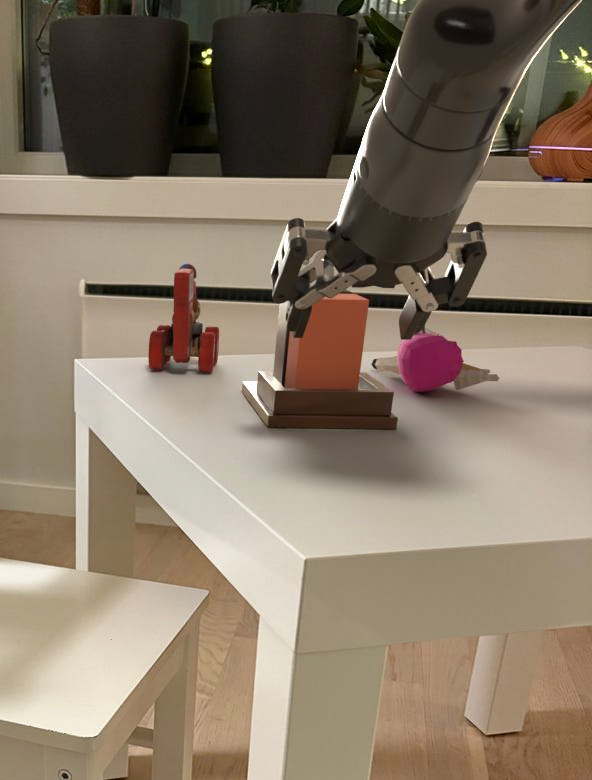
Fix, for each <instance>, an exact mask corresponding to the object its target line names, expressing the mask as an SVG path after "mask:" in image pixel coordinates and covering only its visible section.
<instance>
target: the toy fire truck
mask: <svg viewBox="0 0 592 780" xmlns="http://www.w3.org/2000/svg"><path fill="white" fill-rule="evenodd" d="M173 275H174V276H173V314H172V317H171V322H172V323H171V324H170V325H169V324H159V325H157V328H156V330H152V331H151V332H150V334H149V340H148V353H147V354H148V357H147V359H148V367H149V369H150V370H151V371H163V370H164V368H165V365H166V363H169V362H170V361H171V358H172V359H173V360H174V363H176V364H181V363H182V364H185V363H189V362H190V359H191V357H193V358H198V359H197V369H198V372H200V373H212V372H213V371H214V366H215V365H217V364H218V358H219V347H220V327H219V326H215V325H214V326H213V325H207V326H206V327H205V329H204V325H203V322H200V321H197V320H198V319H199V317H200V315H201V310H202V309H201V304H200V302H199V300H198V298H197V282H196V281H195V279H197V269H196V268H195V266H194V265H193V264H191V263H184V264H182V265H181V266H180V267H179V269H177V271H175V272H174V273H173ZM203 329H204V331H203Z"/></svg>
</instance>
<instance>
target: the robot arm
mask: <svg viewBox="0 0 592 780" xmlns="http://www.w3.org/2000/svg"><path fill="white" fill-rule="evenodd" d="M582 1H583V0H418V1H417V3H416V4H415V5H414V8H413V9H412V11H411V13H410V15H409V17H408V19H407V21H406V24H405V27H404V30H403V32H402V35H401V39H400V41H399V43H398V47H397V50H396V53H395V55H394V58H393V61H392V64H391V67H390V71H389V74H388V76H387V80H386V82H385V85H384V89H383V91H382V94H381V96H380V98H379V100H378V102H377V103H376V105H375V108H374V109H373V111H372V113H371V116H370V118H369V121H368V123H367V126H366V129H365V132H364V135H363V137H362V141H361V144H360V146H359V149H358V152H357V155H356V159H355V162H354V165H353V168H352V171H351V173H350V177H349V180H348V183H347V186H346V188H345V192H344V194H343V198H342V201H341V204H340V208H339V211H338V215H337V217H336V218H335V220H334V221H333V222H332V223H330V225H329V226H328V227H327V228H326V229H319V228H306V221H305V220H304V219H303V218H300V217H295V218H292V219H290V220H289V221H288V222H287V225H286V227H285V230H284V232H283V235H282V238H281V241H280V244H279V247H278V250H277V253H276V254H275V255H276V256H275V258H274V261H273V264H272V266H271V270H270V278H271V286H272V288H271V289H272V292H271V297H272V301H273V303H275V304H281V303H285V302H286V301H289V302H288V305H287V309H286V312H285V313H286V327H287V330H288V331H292V335H293V338H303V335H304V332H305V329H306V326H307V323H308V320H309V317H310V314H311V311H312V305H313V304H315V303H316V302H318V301H319V300H321V299H322V298H324V297H327V298H329V299H331V298H333V297H335V296H336V295H338V294H339V293H341V292H342V291H344V290H345V289H346V290H348V288H350V287H351V288H355V289H356V288H357V289H361V288H362V289H363V288H368V287H369V288H370V287H375V288H377V287H378V288H381V289H395V287H396V286H399V285H401V284H402V286H403V287H404V289H405V290H406V292H407V293H408V297H407V299H406V302H405V304H404V306H403V309H402V310H401V312H400V315H399V316H398V317H399V318H398V328H399V336H400V340H401V341H402V340H403V341H404V340H411V339H412V337H413V335H414V333H419V332H420V331H421V330H423V328H424V326H425V327H426V324H427V321H428V320H429V319H430V316H431V314H432V312H434V311H435V310H437V309H438V307H439V306H440V305H444V304H447V303H448V304H447V305H448V306H450V307H451V308H452V307H453V308H457V307H461V306H462V305H464V303H465V302H466V300H467V299H468V296H469V294H470V292H471V290H472V288H473V286H474V283H475V281H476V279H477V277H478V275H479V273H480V271H481V269H482V266H483V264H484V263H485V260H486V258H487V255H488V252H487V244H486V238H485V232H484V226H483V225H484V224H483V223H482V222H480V221H472V222H470V223H468V224H467V225H466V226H465V227H464V229H463V231H462V232H461V231H460V232H459V231H458V232H453V230H454V228H455V226H456V223H457V221H458V219H459V217H460V216H461V214H462V211H463V209H464V207H465V205H466V203H467V202H468V200H469V198H470V195H471V193H472V191H473V189H474V187H475V185H476V184H477V182H478V181H479V179H480V177H481V176H482V173H483V171H484V166H485V165H486V162H487V160H488V158H489V155H490V152H491V149H492V145H493V142H494V139H495V137H496V133H497V131H498V128H499V127H500V124H501V122H502V120H503V117H504V116H505V113H506V112H507V110H508V108H509V105H510V103H511V101H512V99H513V97H514V95H515V94H516V93H515V92H516V91H517V89H518V87H519V85H520V83H521V81H522V79H523V78H524V76H525V74H526V71H527V70H528V69H529V67H530V65H531V63H532V62H533V60H534V58H535V57H536V56H537V54H538V53H539V52H540V50H541V49H542V48H543V46H544V45H545V44H546V42H547V41H548V40H549V39H550V37H551V36H552V35H553V34H554V32H555V31H556V30H557V29H558V28H559V26H560V25H561V24H562V23H563V22H564V21H565V19H566V18H567V17H568V16H569V15H570V14H571V13H572V12H573V11H574V10H575V9H576V7H578V5H579V4H580V3H581V2H582ZM315 254H316V255H315ZM446 254H450V263H449V264H448V267H447V269H446V271H445V274H444V276H442V277H437V278H436V277H435V276H434V274H433V272H432V271H431V269H430V267H431V266H432V265H435V264H436V263H438V262H439V261H440V260H442V259H443V258H444V257H445V256H446ZM314 255H315V256H314ZM313 256H314V259H313V261H312V262H310V259H312V258H313ZM302 266H305V267H304V268H302ZM335 270H336V272H337V274H336V275H335ZM313 282H315V283H314V284H313V285H311V284H312V283H313Z"/></svg>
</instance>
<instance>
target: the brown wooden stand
mask: <svg viewBox="0 0 592 780" xmlns="http://www.w3.org/2000/svg"><path fill="white" fill-rule="evenodd" d="M339 294H352V291H350V290H348V289H345V290H344V291H342V292H341V293H339ZM288 302H289V301H286V302H285V303H281V304H279V305H278V306H279V307H278V315H277V316H278V317H277V325H276V326H277V328H276V340H275V351H274V360H273V361H274V362H273V370H272V371H273V372H271V371H269V370H258V372H257V381H247V380H246V381H244V380H243V381H242V382H241V392H242V394H243V396H244V397H245V398H246V400H247V401H248V402H249V403H250V405H251V406H252V408H253V409H254V410H255V412H256V413H257V415H258V416H259V418H260V419H261V420H262V422H263V423H264V425H265V426H266V427H267V428H281V429H282V428H283V429H285V428H286V429H288V428H289V429H297V428H298V429H351V430H352V429H355V430H356V429H360V430H397V429H398V428H397V427H398V421H399V417H398V416H396V415H395V414H394V413H393V412H392V410H393V402H394V395H395V392H394V391H393V390H392V389H390V388H388V387H387V385H386V386H385V384H383V383H382V382H380V381H379V380H378V379H376V378H375V377H374V376H372V375H371V374H369V373H368V372H364V371H363V372H361V371H360V376H359V384H358V389H294V388H284V387H285V377H286V366H287V356H288V345H289V335H290V331H288V330H287V327H286V313H285V312H286V309H287V305H288Z"/></svg>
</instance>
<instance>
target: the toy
mask: <svg viewBox="0 0 592 780" xmlns="http://www.w3.org/2000/svg"><path fill="white" fill-rule="evenodd" d="M462 351H463V350H462V348H461V347H460V346H459V345H458V343H457V341H456V340H455V341H454V340H448V339H447V338H446V337H445V336H444V335H440V333H438V332H437V331H433V330H431V329H429V328H427V327H426V325H425V326H424V328H423V330H421V331H420V332H419V333H414V335H413V337H412V339H411V340H403V341H402V340H401V342H400V345H399V347H398V351H397V354H396V355H395V356H390V357H389V356H388V357H379V358H378V357H377V358H373V360H372V362H371V363H370V365H371V366H372V368H373V369H374V370H377V371H380V372H387V373H392V374H395V375H400V377H401V379H402V382H403V383H404V384H405V385H406V386H407V387H408V388H409V389H410V390H412V391H413V392H415V393H416V392H430V391H433V390H436V389H439V388H441V387H444V386H445V385H447V384H449V383H453V385H454V390H455V391H456V392H457V391H460V390H463V389H466V388H469V387H472V386H476V385H479V384H481V383H485V382H499V380H500V377H499V375H498V374H497V373H495V374H494V373H491V370H490V369H487V368H479V367H476V366H473V365H470V364H468V363H464V362H465V361H464V359H463V355H462V354H463V353H462Z"/></svg>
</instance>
